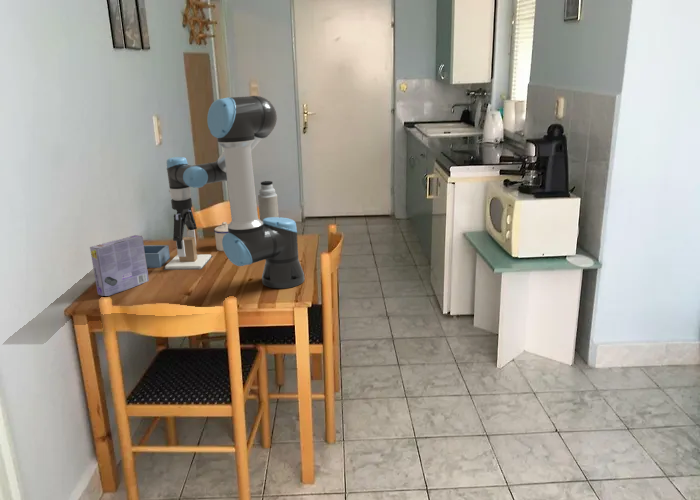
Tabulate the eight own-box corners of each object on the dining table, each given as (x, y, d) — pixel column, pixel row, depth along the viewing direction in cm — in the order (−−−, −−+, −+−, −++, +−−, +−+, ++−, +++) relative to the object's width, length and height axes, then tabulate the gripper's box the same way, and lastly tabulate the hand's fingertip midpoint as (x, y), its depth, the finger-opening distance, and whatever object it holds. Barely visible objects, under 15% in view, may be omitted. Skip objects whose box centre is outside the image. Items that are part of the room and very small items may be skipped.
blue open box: (160, 268, 222) (158, 253, 220) (132, 268, 223) (130, 254, 221) (170, 259, 233) (168, 245, 231) (143, 259, 233) (141, 245, 231)
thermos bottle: (273, 242, 252) (268, 179, 243) (284, 245, 246) (280, 181, 237) (258, 246, 246) (253, 182, 238) (269, 249, 241) (264, 184, 232)
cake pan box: (144, 278, 212) (137, 232, 207) (152, 280, 210) (145, 234, 204) (96, 295, 197) (88, 246, 192) (105, 298, 195) (96, 249, 189)
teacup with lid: (230, 253, 238) (227, 226, 235) (211, 251, 242) (209, 224, 238) (245, 244, 249) (243, 218, 245) (227, 242, 252) (225, 217, 249)
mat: (201, 270, 219) (201, 269, 219) (163, 270, 220) (163, 269, 220) (213, 256, 234) (213, 255, 234) (177, 257, 235) (177, 256, 235)
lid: (201, 268, 220) (198, 243, 217) (165, 268, 220) (161, 244, 217) (211, 256, 233) (208, 233, 230) (177, 257, 234) (174, 233, 231)
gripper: (182, 191, 231) (188, 241, 237) (159, 206, 207) (166, 261, 214) (200, 191, 230) (205, 241, 237) (179, 205, 207) (186, 261, 213)
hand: (187, 250), depth 225 cm, fingers open, 13 cm apart
